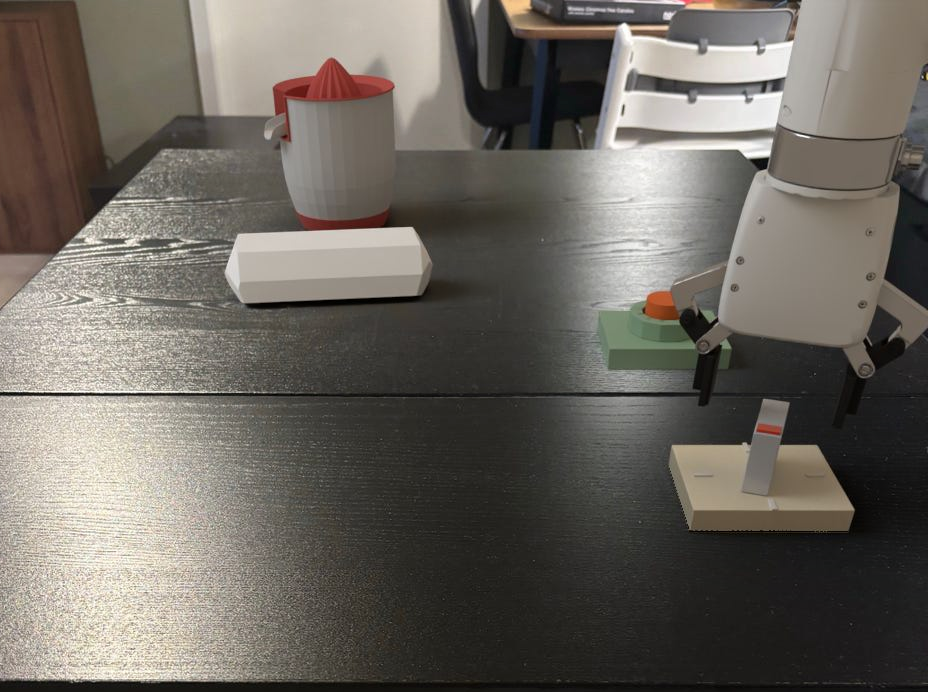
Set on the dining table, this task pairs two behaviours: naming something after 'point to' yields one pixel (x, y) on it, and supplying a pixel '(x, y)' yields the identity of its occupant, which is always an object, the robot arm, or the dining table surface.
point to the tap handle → (765, 447)
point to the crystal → (328, 265)
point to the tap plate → (784, 508)
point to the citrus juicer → (336, 147)
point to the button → (661, 306)
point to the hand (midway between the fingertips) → (770, 409)
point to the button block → (649, 341)
